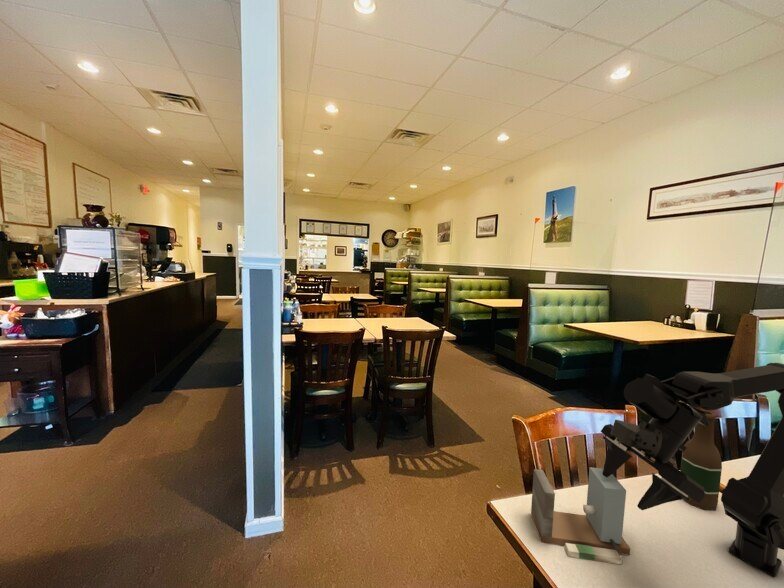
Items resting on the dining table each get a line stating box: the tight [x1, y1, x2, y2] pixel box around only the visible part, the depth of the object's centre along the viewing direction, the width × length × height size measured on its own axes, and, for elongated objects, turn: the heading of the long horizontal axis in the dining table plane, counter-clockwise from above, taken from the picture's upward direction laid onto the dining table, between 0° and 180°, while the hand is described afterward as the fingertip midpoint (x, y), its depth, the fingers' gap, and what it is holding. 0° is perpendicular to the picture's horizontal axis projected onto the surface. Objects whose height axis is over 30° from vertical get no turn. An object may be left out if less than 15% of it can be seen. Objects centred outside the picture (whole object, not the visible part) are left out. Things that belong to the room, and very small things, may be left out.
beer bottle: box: [679, 409, 723, 511], centre depth 81 cm, size 8×8×24 cm
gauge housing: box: [530, 468, 631, 565], centre depth 69 cm, size 18×11×12 cm, turn 81°
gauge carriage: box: [582, 466, 627, 551], centre depth 68 cm, size 6×9×12 cm, turn 171°
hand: (620, 491), depth 63 cm, fingers open, 9 cm apart
